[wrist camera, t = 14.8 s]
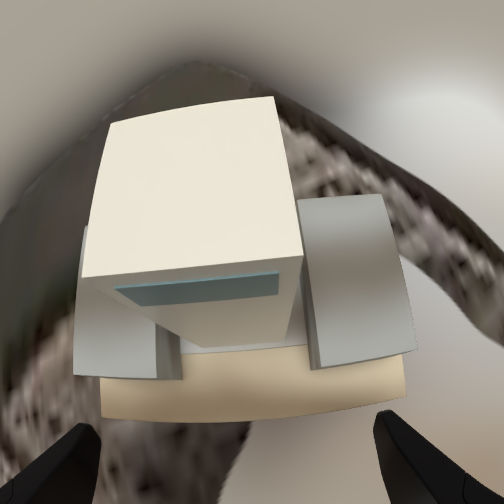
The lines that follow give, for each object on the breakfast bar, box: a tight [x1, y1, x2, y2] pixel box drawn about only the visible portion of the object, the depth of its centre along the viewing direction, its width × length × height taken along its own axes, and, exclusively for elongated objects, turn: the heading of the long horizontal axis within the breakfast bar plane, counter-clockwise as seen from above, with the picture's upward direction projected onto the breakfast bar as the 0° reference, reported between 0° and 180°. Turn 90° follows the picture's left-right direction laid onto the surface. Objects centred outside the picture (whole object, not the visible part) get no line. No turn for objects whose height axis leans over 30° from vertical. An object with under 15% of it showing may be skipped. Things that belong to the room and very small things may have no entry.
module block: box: [82, 96, 304, 348], centre depth 12 cm, size 5×4×12 cm
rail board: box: [73, 194, 418, 423], centre depth 17 cm, size 13×18×5 cm
